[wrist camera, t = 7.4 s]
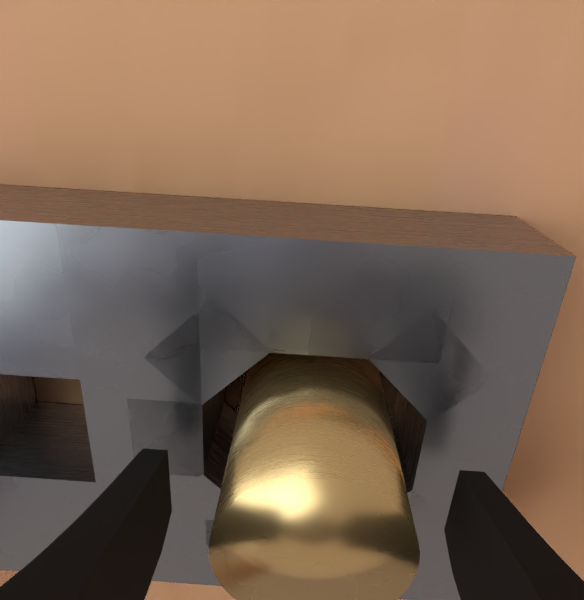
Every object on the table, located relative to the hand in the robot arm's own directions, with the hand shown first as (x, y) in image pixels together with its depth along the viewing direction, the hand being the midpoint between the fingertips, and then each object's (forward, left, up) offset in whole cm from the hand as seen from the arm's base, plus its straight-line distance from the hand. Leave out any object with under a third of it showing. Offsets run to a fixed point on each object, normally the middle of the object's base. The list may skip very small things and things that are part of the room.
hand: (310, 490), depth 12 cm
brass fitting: (0, 0, -5) cm, 5 cm away
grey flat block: (-3, 0, -5) cm, 6 cm away
